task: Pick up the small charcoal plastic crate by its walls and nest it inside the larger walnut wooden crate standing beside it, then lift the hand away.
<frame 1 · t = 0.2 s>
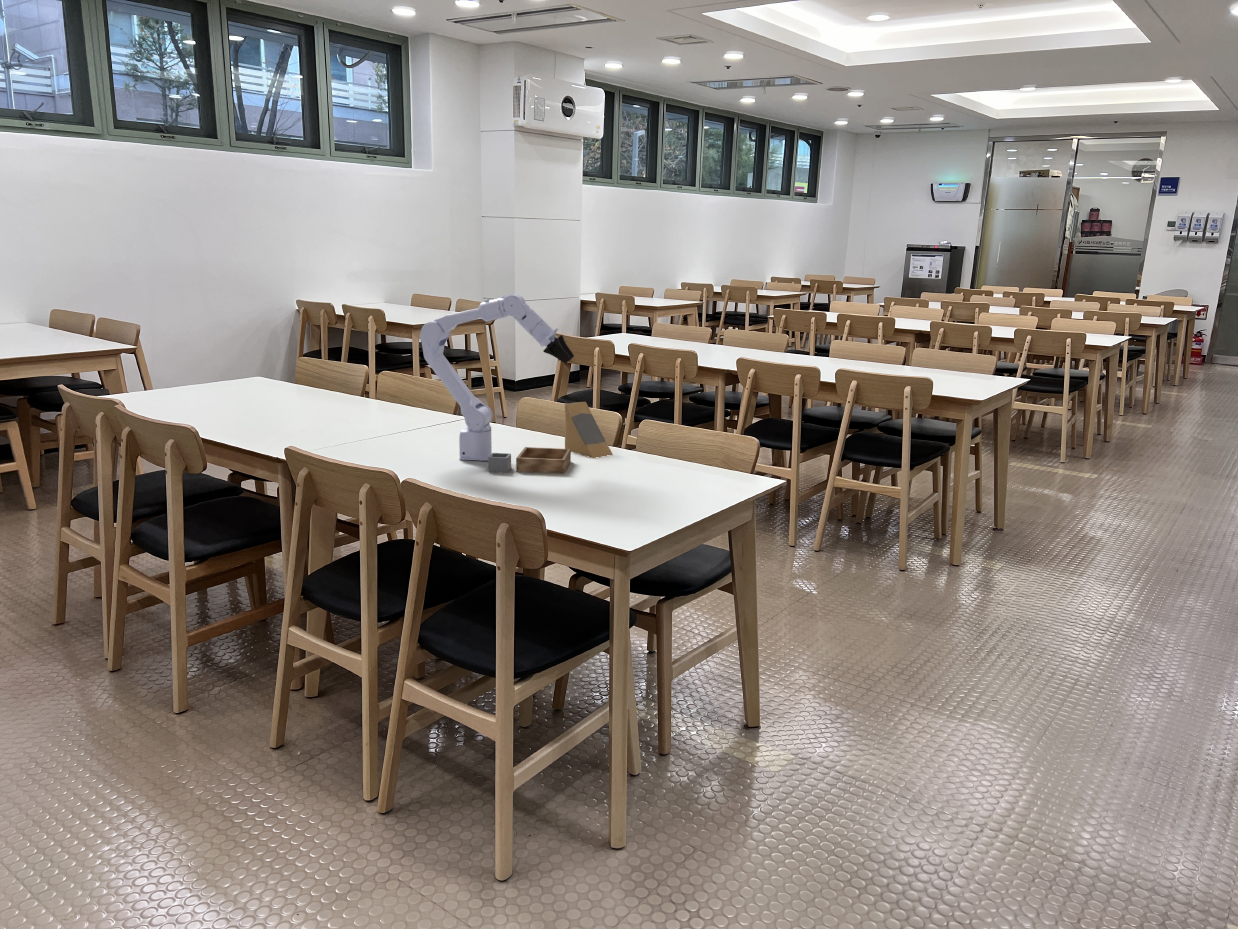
hand: (569, 359, 256), 31 cm above the table, tool tilted 45°, fingers open, 7 cm apart
small crate: (499, 470, 253), on the table
large crate: (544, 466, 258), on the table
sandwich container: (588, 452, 278), on the table
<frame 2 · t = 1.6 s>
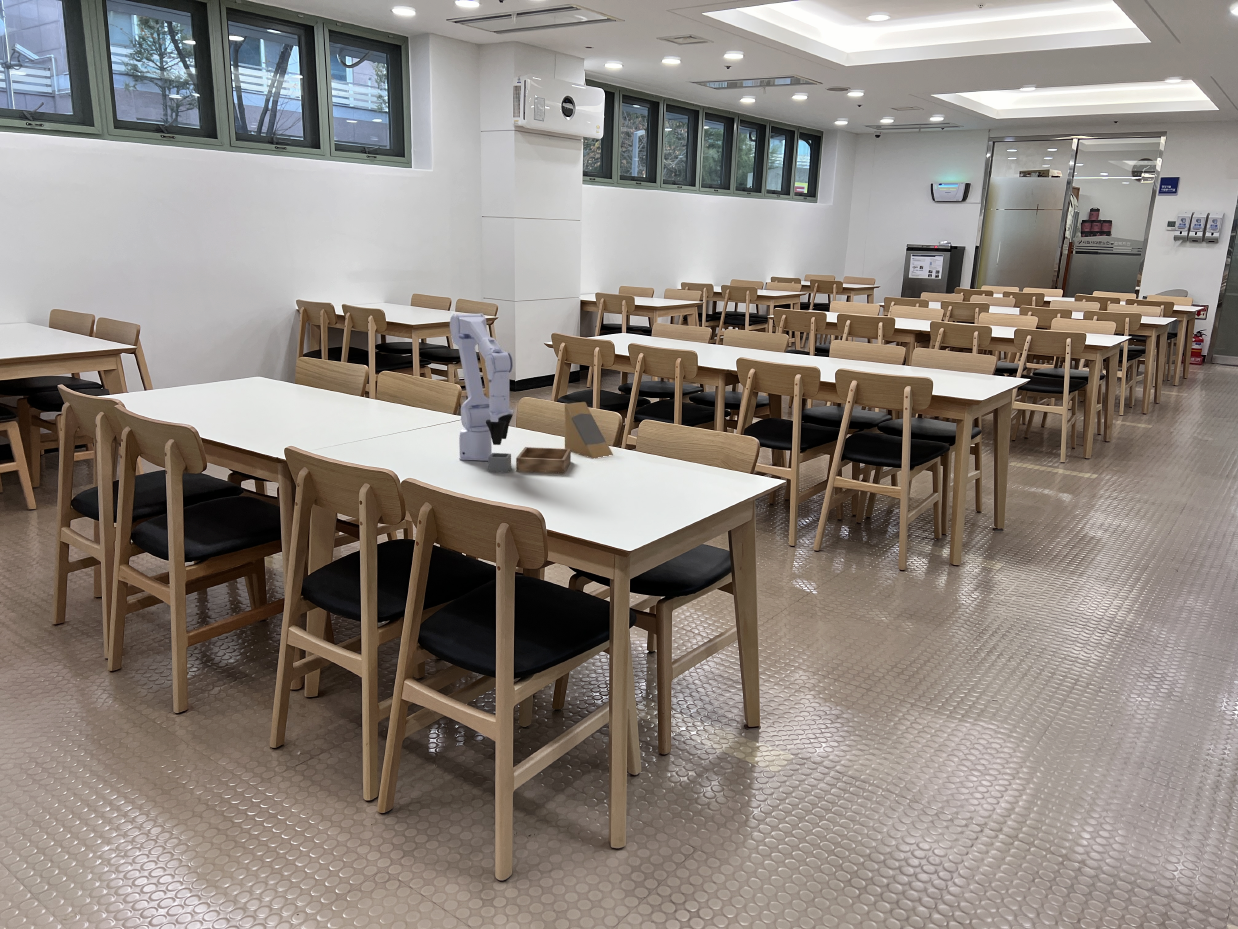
hand: (499, 441, 251), 8 cm above the table, tool pointing down, fingers open, 7 cm apart
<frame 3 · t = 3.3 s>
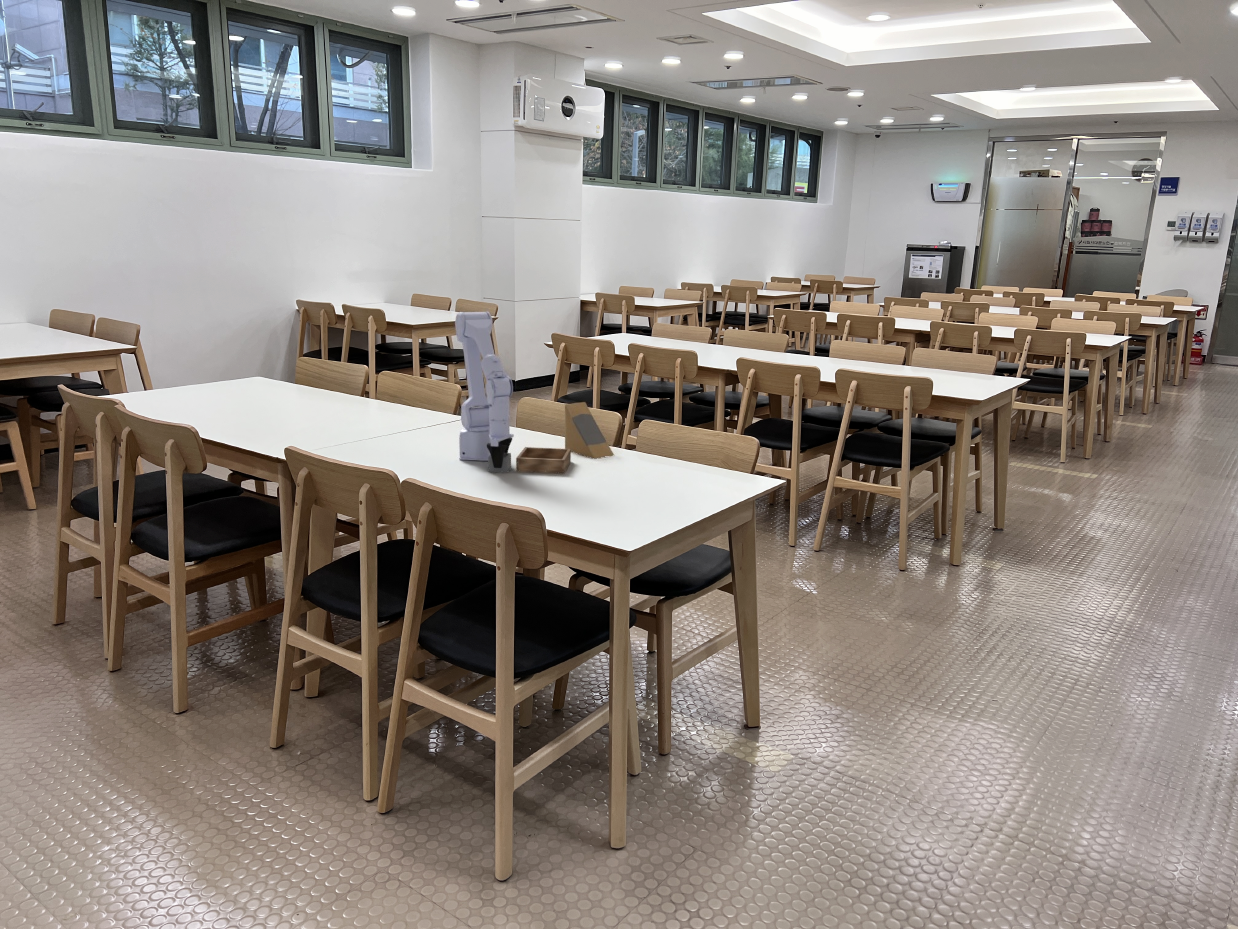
hand: (499, 465, 253), 1 cm above the table, tool pointing down, fingers closed on small crate, 5 cm apart
small crate: (499, 469, 253), on the table, touching gripper
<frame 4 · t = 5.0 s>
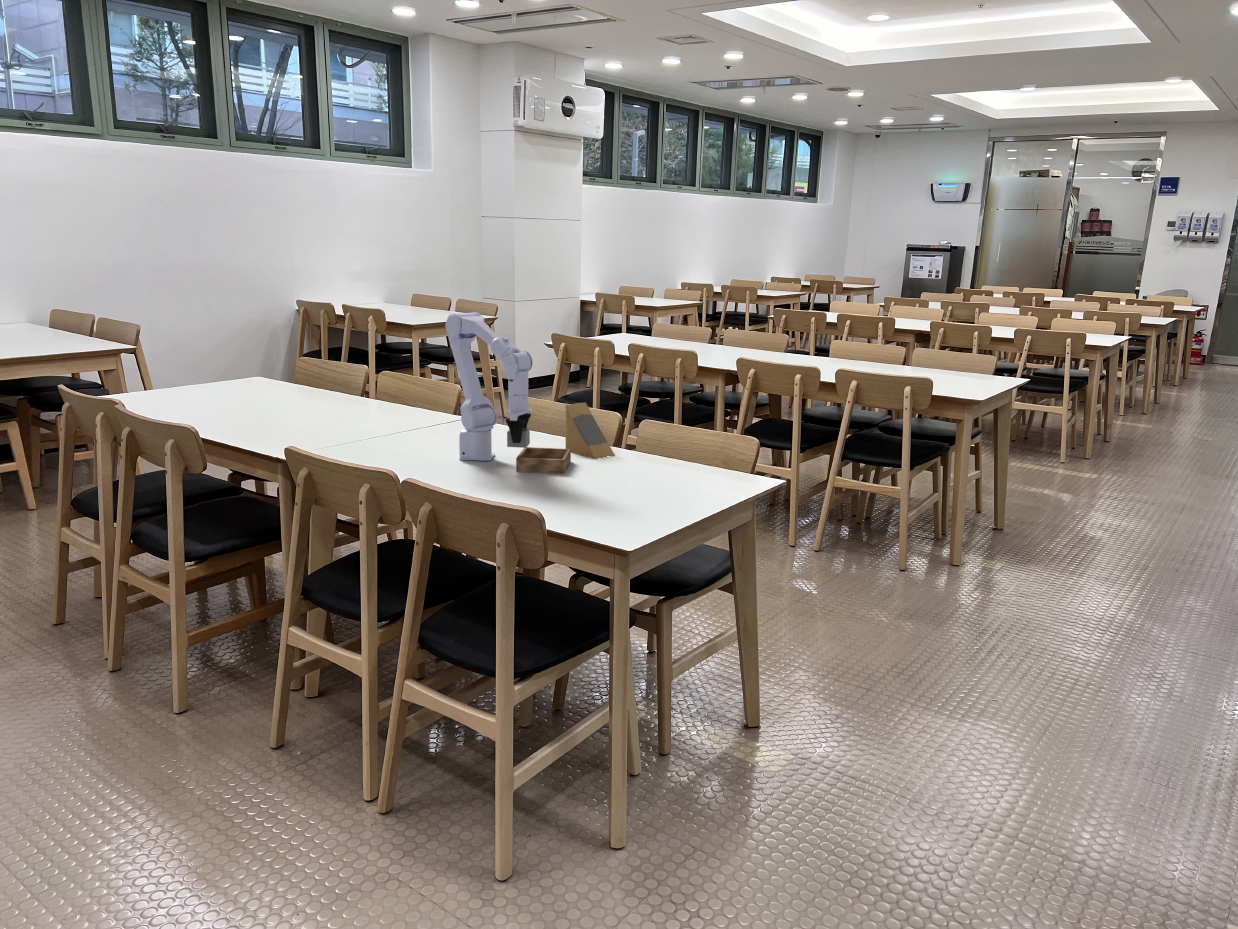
hand: (518, 440, 253), 8 cm above the table, tool pointing down, fingers closed on small crate, 5 cm apart
small crate: (518, 445, 253), point 7 cm above the table, touching gripper
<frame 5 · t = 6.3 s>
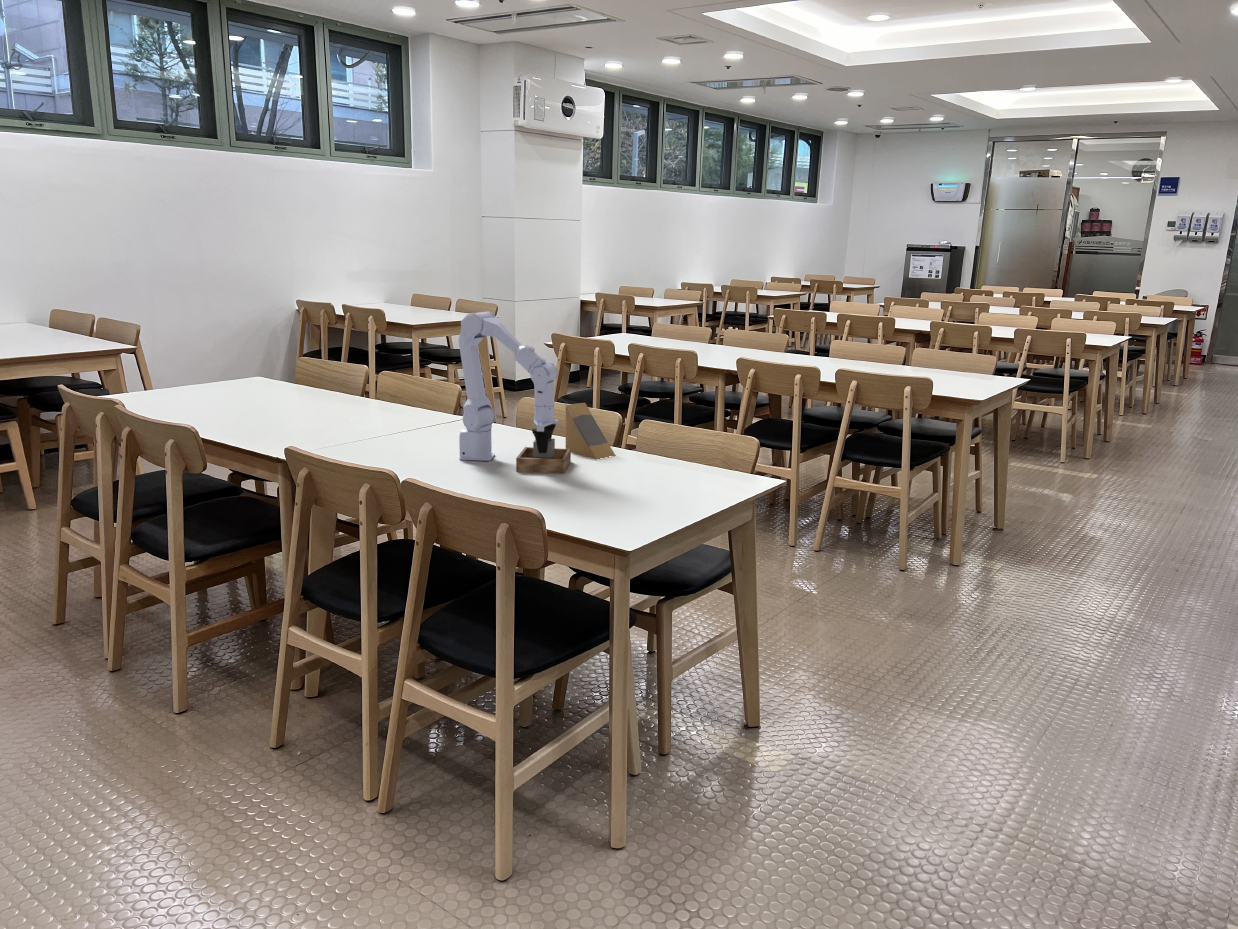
hand: (544, 450, 257), 5 cm above the table, tool pointing down, fingers closed on small crate, 5 cm apart
small crate: (544, 455, 257), point 3 cm above the table, touching gripper
when the fingers open (5 cm above the table, at t = 7.1 s): small crate drops 3 cm, resting on large crate.
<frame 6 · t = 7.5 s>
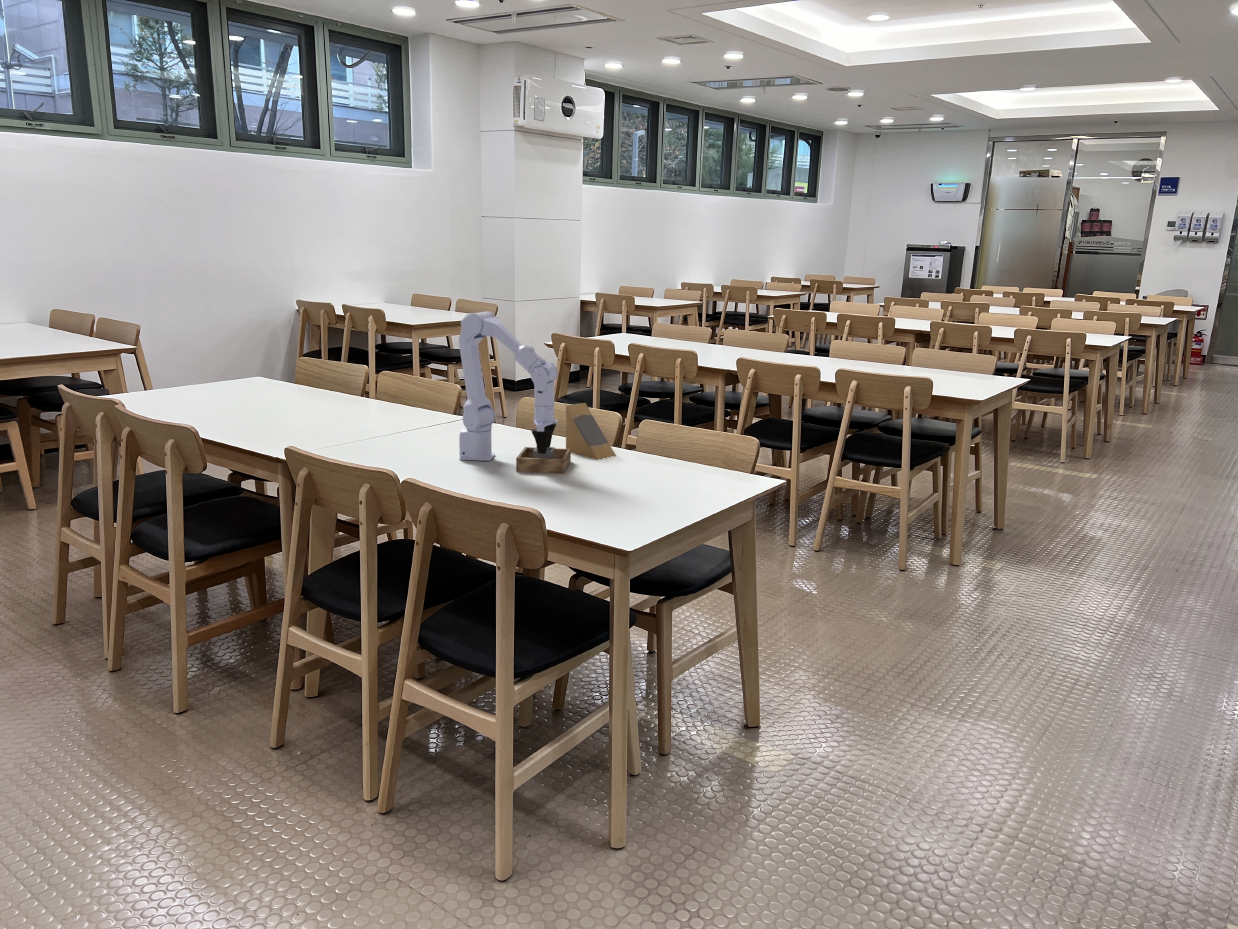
hand: (544, 450, 257), 5 cm above the table, tool pointing down, fingers open, 7 cm apart
small crate: (544, 463, 258), point 1 cm above the table, touching large crate
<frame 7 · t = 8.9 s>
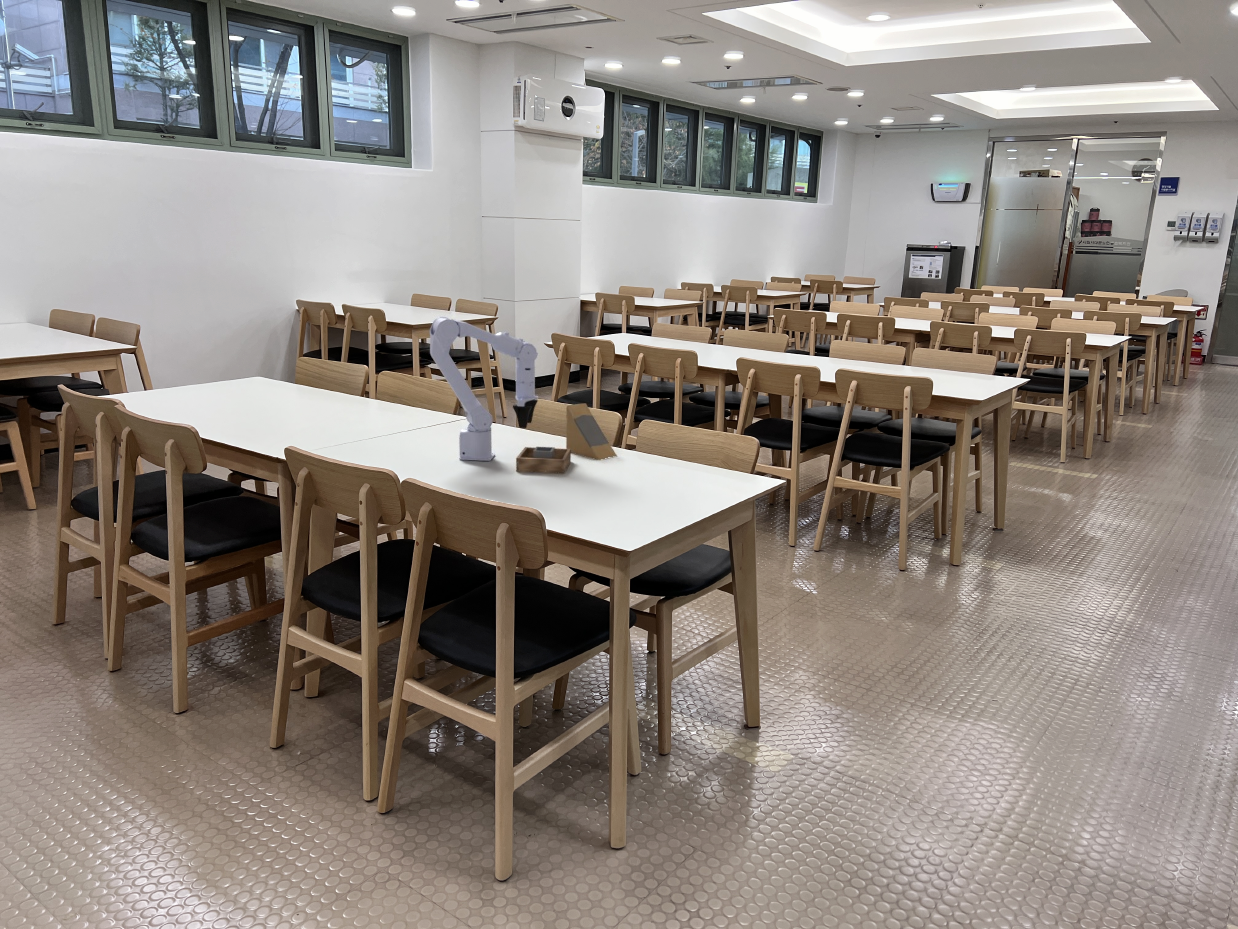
hand: (525, 425, 269), 9 cm above the table, tool pointing down, fingers open, 7 cm apart
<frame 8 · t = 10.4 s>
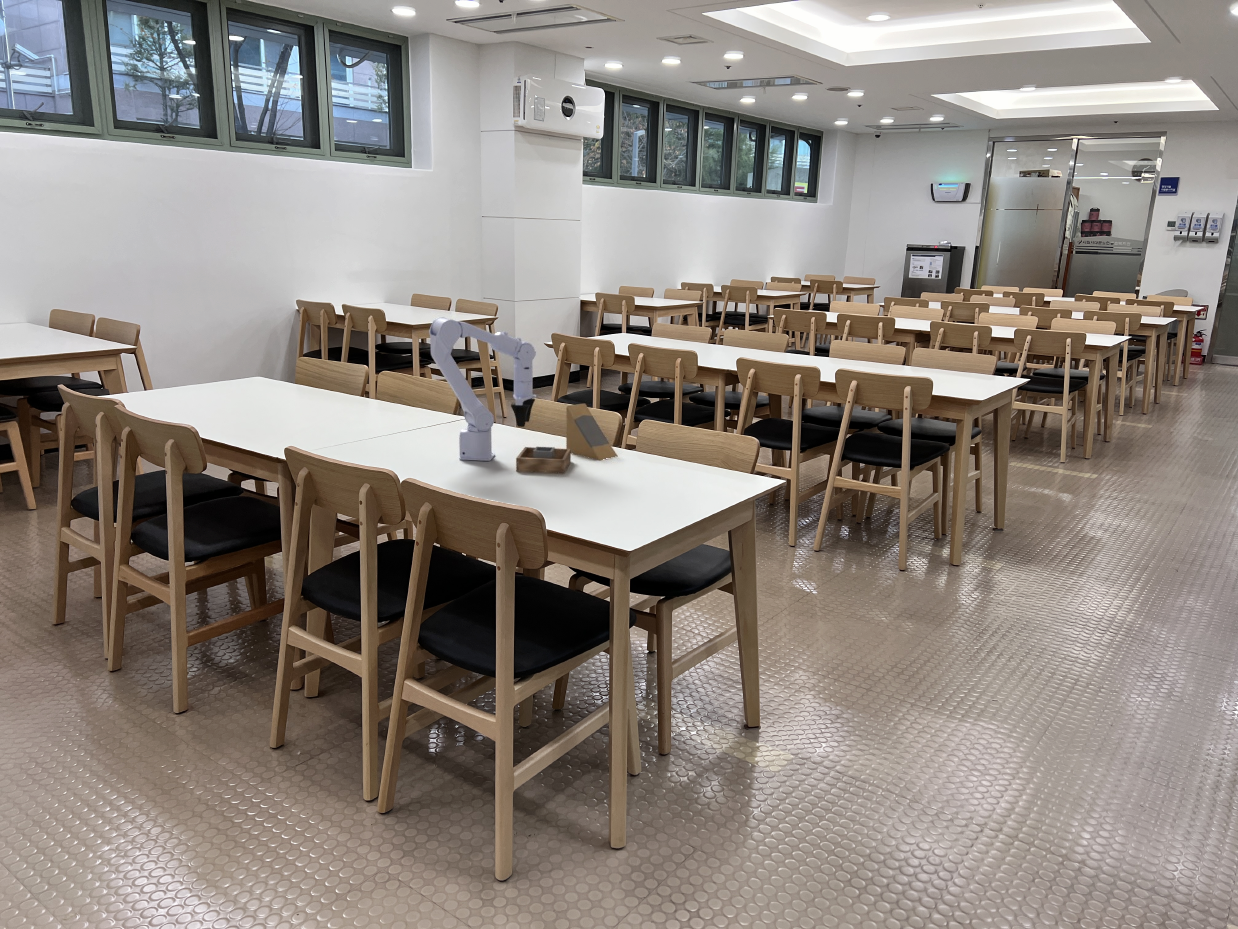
hand: (523, 424, 271), 9 cm above the table, tool pointing down, fingers open, 7 cm apart
at the end: small crate 0.0 cm off-centre on the large crate, point 0.8 cm above the large crate's base; small crate tilted 0°; the gripper is holding nothing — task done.
